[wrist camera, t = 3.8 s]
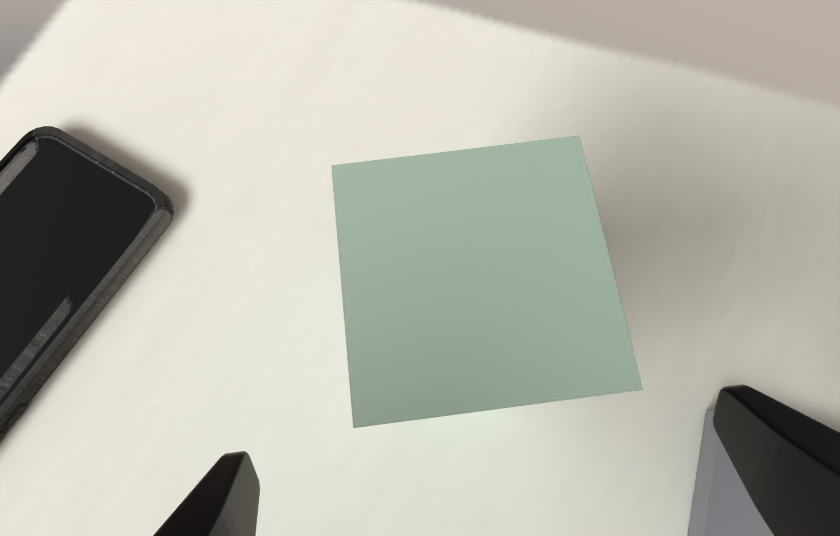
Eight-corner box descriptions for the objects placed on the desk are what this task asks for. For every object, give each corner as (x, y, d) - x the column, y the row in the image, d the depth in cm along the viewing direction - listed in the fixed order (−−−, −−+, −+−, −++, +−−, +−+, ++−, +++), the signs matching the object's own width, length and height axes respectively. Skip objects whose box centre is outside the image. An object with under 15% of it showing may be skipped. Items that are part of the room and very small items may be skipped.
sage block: (511, 405, 19) (642, 389, 7) (398, 420, 19) (353, 427, 7) (492, 295, 20) (579, 135, 9) (385, 308, 20) (331, 165, 9)
